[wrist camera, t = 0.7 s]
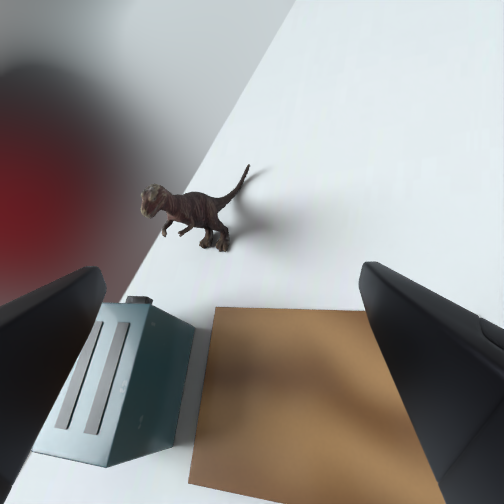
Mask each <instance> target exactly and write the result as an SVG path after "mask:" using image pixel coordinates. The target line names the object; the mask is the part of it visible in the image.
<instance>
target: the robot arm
mask: <svg viewBox="0 0 504 504" xmlns="http://www.w3.org/2000/svg"><path fill="white" fill-rule="evenodd" d="M106 289H107V288H106V283H105V281H104V278H103V275H102V273H101V270H100V269H99V268H98V267H97V266H86V267H83V268H81V269H79V270H77V271H74V272H72V273H70V274H68V275H66V276H64V277H62V278H59V279H57V280H55V281H53V282H51V283H49V284H47V285H45V286H43V287H40V288H38V289H36V290H34V291H32V292H30V293H28V294H26V295H23V296H21V297H19V298H17V299H15V300H13V301H11V302H9V303H6V304H5V305H2V306H0V504H4V502H5V500H6V498H7V496H8V494H9V492H10V490H11V488H12V485H13V484H14V482H15V480H16V478H17V476H18V474H19V472H20V470H21V468H22V466H23V464H24V462H25V460H26V458H27V456H28V454H29V452H30V451H31V449H32V447H33V445H34V443H35V441H36V439H37V437H38V435H39V433H40V431H41V429H42V427H43V425H44V423H45V421H46V419H47V417H48V415H49V413H50V411H51V409H52V407H53V405H54V403H55V401H56V399H57V398H58V396H59V394H60V392H61V390H62V388H63V386H64V384H65V382H66V380H67V378H68V376H69V374H70V372H71V370H72V368H73V366H74V364H75V362H76V360H77V358H78V356H79V354H80V352H81V350H82V348H83V346H84V345H85V343H86V341H87V339H88V337H89V335H90V332H91V330H92V328H93V326H94V323H95V320H96V318H97V315H98V312H99V310H100V307H101V304H102V302H103V299H104V296H105V294H106ZM359 290H360V293H361V297H362V300H363V304H364V307H365V310H366V314H367V317H368V321H369V324H370V327H371V329H372V332H373V334H374V336H375V339H376V341H377V343H378V346H379V348H380V350H381V353H382V355H383V357H384V360H385V362H386V365H387V367H388V369H389V372H390V374H391V376H392V379H393V381H394V383H395V386H396V388H397V390H398V393H399V395H400V397H401V400H402V402H403V404H404V407H405V409H406V411H407V414H408V416H409V418H410V421H411V423H412V425H413V428H414V430H415V432H416V435H417V437H418V439H419V442H420V444H421V446H422V449H423V451H424V453H425V456H426V458H427V460H428V463H429V465H430V467H431V470H432V472H433V474H434V477H435V479H436V481H437V482H438V486H439V489H440V491H441V493H442V496H443V498H444V500H445V503H446V504H504V329H502V328H500V327H499V326H497V325H495V324H493V323H491V322H489V321H487V320H485V319H484V318H479V316H478V315H476V314H474V313H472V312H470V311H468V310H467V309H465V308H463V307H461V306H459V305H457V304H455V303H453V302H451V301H450V300H448V299H446V298H444V297H442V296H440V295H438V294H436V293H435V292H433V291H431V290H429V289H427V288H425V287H423V286H421V285H420V284H418V283H416V282H414V281H412V280H410V279H408V278H406V277H405V276H403V275H401V274H399V273H397V272H395V271H393V270H391V269H390V268H388V267H386V266H384V265H382V264H380V263H378V262H365V263H363V265H362V269H361V274H360V278H359Z"/></svg>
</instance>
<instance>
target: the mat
mask: <svg viewBox="0 0 504 504" xmlns="http://www.w3.org/2000/svg"><path fill="white" fill-rule="evenodd" d="M188 483H189V484H194V485H198V486H203V487H208V488H213V489H217V490H222V491H227V492H231V493H236V494H241V495H245V496H250V497H255V498H259V499H264V500H269V501H273V502H278V503H283V504H446V503H445V500H444V498H443V496H442V493H441V491H440V489H439V486H438V482H437V481H436V479H435V477H434V474H433V472H432V470H431V467H430V465H429V463H428V460H427V458H426V456H425V453H424V451H423V449H422V446H421V444H420V442H419V439H418V437H417V435H416V432H415V430H414V428H413V425H412V423H411V421H410V418H409V416H408V414H407V411H406V409H405V407H404V404H403V402H402V400H401V397H400V395H399V393H398V390H397V388H396V386H395V383H394V381H393V379H392V376H391V374H390V372H389V369H388V367H387V365H386V362H385V360H384V357H383V355H382V353H381V350H380V348H379V346H378V343H377V341H376V339H375V336H374V334H373V332H372V329H371V327H370V324H369V321H368V317H367V314H366V311H345V310H309V309H272V308H236V307H216V308H215V315H214V321H213V327H212V334H211V340H210V346H209V353H208V359H207V365H206V372H205V378H204V385H203V391H202V397H201V404H200V410H199V416H198V423H197V429H196V435H195V442H194V448H193V454H192V461H191V467H190V473H189V480H188Z"/></svg>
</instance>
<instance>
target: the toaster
mask: <svg viewBox="0 0 504 504" xmlns="http://www.w3.org/2000/svg"><path fill="white" fill-rule="evenodd" d="M152 302H153V300H152V299H150V298H149V297H146V296H128V297H127V299H126V303H102V304H101V307H100V310H99V312H98V315H97V318H96V320H95V323H94V326H93V328H92V330H91V332H90V335H89V337H88V339H87V341H86V343H85V345H84V346H83V348H82V350H81V352H80V354H79V356H78V358H77V360H76V362H75V364H74V366H73V368H72V370H71V372H70V374H69V376H68V378H67V380H66V382H65V384H64V386H63V388H62V390H61V392H60V394H59V396H58V398H57V399H56V401H55V403H54V405H53V407H52V409H51V411H50V413H49V415H48V417H47V419H46V421H45V423H44V425H43V427H42V429H41V431H40V433H39V435H38V437H37V439H36V441H35V443H34V445H33V447H32V450H31V451H32V452H35V453H40V454H44V455H49V456H54V457H58V458H63V459H68V460H72V461H77V462H81V463H86V464H91V465H95V466H100V467H105V468H108V467H111V466H114V465H117V464H120V463H124V462H127V461H130V460H133V459H136V458H139V457H143V456H146V455H149V454H152V453H155V452H159V451H162V450H165V449H168V448H171V447H173V443H174V437H175V432H176V426H177V421H178V416H179V410H180V405H181V399H182V394H183V389H184V383H185V378H186V373H187V367H188V362H189V356H190V351H191V346H192V340H193V335H194V330H195V327H194V326H192V325H190V324H188V323H186V322H184V321H182V320H180V319H178V318H176V317H174V316H173V315H171V314H169V313H167V312H165V311H163V310H161V309H159V308H157V307H155V306H153V305H152Z"/></svg>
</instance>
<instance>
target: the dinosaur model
mask: <svg viewBox="0 0 504 504" xmlns="http://www.w3.org/2000/svg"><path fill="white" fill-rule="evenodd" d="M249 166H250V164H248V166H247V167H246V169H245V171H244V174H243V176H242V178H241V180H240V182H239V183H238V185H237V187H236V188H235V189H234V190H232V191H231V192H230V193H229V194H228V195H226V196H224V197H220V198H214V197H210V196H208V195H206V194H204V193H200V192H189V193H185V194H183V195H172V194H171V193H170V192H169V191H167V190H166V189H165V188H164V187H162V186H161V185H157V184H151V185H150V186H148V187H147V188H146V189H145V190H144V191H143V192H142V193H141V197H142V199H143V200H142V205H141V213H142V214H143V216H144V217H147V218H150V219H151V218H153V217H154V216H155V215H156V213H157V212H158V211H159V210H164V211H166V213H167V216H168V217H167V219H168V220H167V222H166V223H165V224H164V226H163V228H162V235H163V236H164V237H166V235H167V232H166V229H167V228H168V227H169V226H170V225H171V224H172V223H173V221H177V222H181V223H184V224H186V225H188V227H187V228H185V229H183V230H181V231H179V232H178V234H180V235H179V236H180V237H181V236H182V235H184V234H185V233H186V232H188V231H190V230H191V229H192V228H193V227H196V228H204V229H205V232H206V234H205V237H204V238H203V239H202V240H201V241H200V244H199V246H201V247H202V248H204V249H205V248H207V247H210V246H211V244H212V240H213V230H215V231H219V232H220V238H219V240H218V242H217V243H216V248H217V249H219V252H222V251H224V252H226V251H227V250H228V246H229V242H230V238H229V232H228V228H227V227H226V226H224V225H223V223H222V222H221V221H220V220H219V219H218V214H217V213H218V212H219V211H220V210H221V209H222V208H224V207H225V206H226V204H228V203H229V202H230V201H231V199H232V198H234V197H235V194H236V193H237V192H238V190H239V189H241V185H242V184H243V182H244V179H245V177H246V175H247V173H248V171H249Z"/></svg>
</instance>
